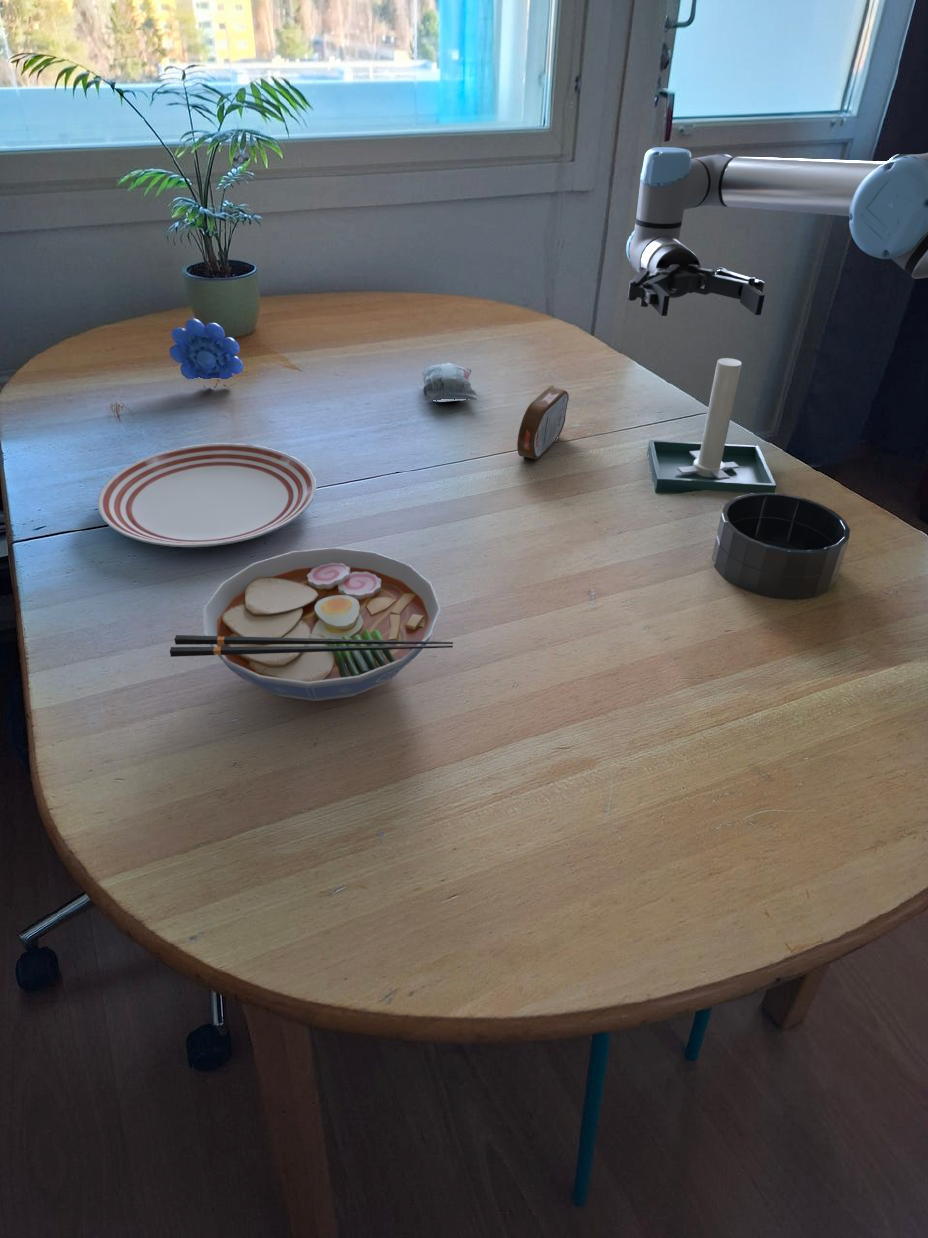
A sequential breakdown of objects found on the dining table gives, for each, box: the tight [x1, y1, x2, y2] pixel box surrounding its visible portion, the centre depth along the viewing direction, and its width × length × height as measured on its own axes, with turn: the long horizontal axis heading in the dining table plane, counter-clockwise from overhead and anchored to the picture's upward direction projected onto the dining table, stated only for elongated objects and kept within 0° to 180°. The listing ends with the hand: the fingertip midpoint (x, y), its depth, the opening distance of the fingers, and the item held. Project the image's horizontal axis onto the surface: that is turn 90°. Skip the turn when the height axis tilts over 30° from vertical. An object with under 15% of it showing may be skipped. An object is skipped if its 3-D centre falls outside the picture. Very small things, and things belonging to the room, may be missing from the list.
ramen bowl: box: [169, 546, 454, 702], centre depth 86 cm, size 25×23×8 cm
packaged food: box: [422, 362, 478, 403], centre depth 148 cm, size 9×12×5 cm
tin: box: [516, 385, 570, 460], centre depth 130 cm, size 15×3×8 cm, turn 155°
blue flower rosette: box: [168, 317, 244, 380], centre depth 145 cm, size 12×7×12 cm, turn 102°
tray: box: [647, 439, 778, 495], centre depth 126 cm, size 16×13×2 cm
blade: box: [678, 357, 743, 480], centre depth 122 cm, size 9×9×16 cm
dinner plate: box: [97, 442, 318, 548], centre depth 114 cm, size 27×27×3 cm
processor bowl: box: [711, 492, 851, 601], centre depth 103 cm, size 14×14×7 cm
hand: (713, 305), depth 122 cm, fingers open, 13 cm apart
